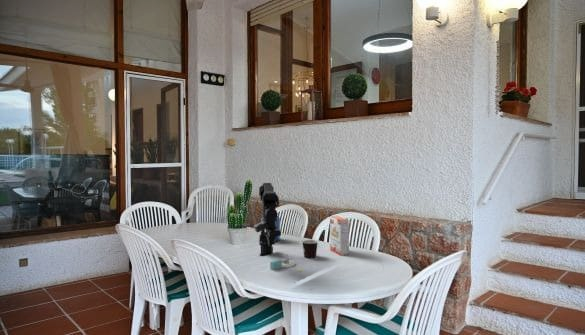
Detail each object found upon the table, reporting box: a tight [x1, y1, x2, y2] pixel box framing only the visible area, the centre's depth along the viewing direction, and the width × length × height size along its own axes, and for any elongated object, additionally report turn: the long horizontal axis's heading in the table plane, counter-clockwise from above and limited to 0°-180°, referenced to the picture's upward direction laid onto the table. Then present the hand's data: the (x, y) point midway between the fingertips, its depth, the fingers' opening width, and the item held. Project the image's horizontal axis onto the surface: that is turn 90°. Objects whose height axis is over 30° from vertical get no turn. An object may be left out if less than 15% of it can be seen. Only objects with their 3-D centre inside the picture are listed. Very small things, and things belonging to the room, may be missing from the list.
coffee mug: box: [302, 239, 319, 259], centre depth 215 cm, size 12×9×10 cm
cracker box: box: [329, 215, 350, 256], centre depth 228 cm, size 14×6×21 cm, turn 21°
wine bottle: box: [260, 215, 281, 242], centre depth 260 cm, size 14×13×30 cm
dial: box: [269, 258, 296, 271], centre depth 196 cm, size 16×10×4 cm, turn 142°
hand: (270, 246), depth 198 cm, fingers closed
